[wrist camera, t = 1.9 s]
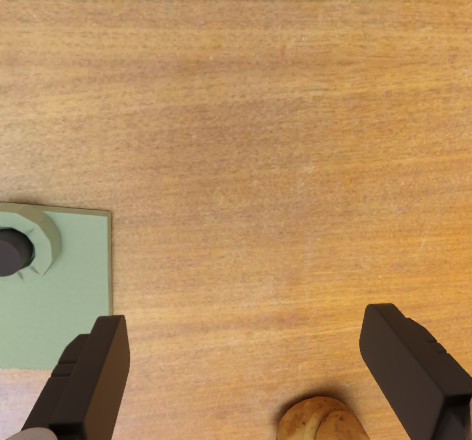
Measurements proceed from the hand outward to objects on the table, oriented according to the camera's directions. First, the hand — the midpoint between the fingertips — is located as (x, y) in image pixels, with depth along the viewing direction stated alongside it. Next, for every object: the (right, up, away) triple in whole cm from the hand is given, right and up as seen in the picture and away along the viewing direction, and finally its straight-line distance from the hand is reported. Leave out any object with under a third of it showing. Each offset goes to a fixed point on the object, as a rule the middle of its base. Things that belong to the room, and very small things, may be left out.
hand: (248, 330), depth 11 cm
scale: (-18, -2, +18) cm, 25 cm away
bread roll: (+9, -21, +28) cm, 36 cm away
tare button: (-17, +2, +13) cm, 22 cm away
